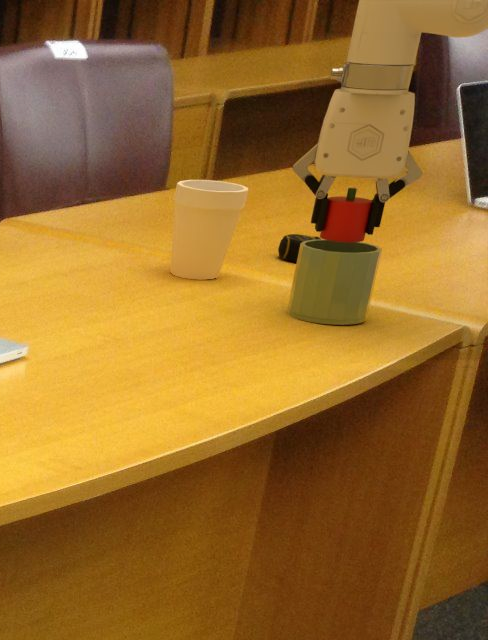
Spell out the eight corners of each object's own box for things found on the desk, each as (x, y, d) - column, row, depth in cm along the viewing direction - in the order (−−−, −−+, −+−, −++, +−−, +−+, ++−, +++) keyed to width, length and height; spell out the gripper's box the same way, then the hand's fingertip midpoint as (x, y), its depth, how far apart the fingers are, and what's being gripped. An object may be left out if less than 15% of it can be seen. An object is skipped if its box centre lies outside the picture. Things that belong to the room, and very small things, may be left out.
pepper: (372, 241, 194) (384, 189, 191) (346, 245, 192) (358, 192, 189) (336, 234, 198) (347, 183, 195) (310, 238, 196) (321, 187, 193)
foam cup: (145, 273, 222) (163, 181, 216) (196, 269, 225) (215, 178, 219) (189, 288, 214) (209, 193, 208) (241, 284, 217) (263, 190, 211)
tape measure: (330, 269, 227) (336, 243, 225) (282, 266, 228) (288, 241, 226) (317, 259, 233) (323, 234, 231) (270, 256, 234) (276, 231, 232)
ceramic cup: (381, 323, 196) (397, 251, 192) (315, 326, 194) (330, 254, 190) (336, 306, 204) (351, 238, 200) (272, 309, 203) (286, 240, 199)
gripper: (302, 79, 186) (272, 232, 194) (458, 84, 181) (421, 241, 189) (299, 74, 192) (269, 222, 200) (449, 79, 187) (413, 230, 195)
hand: (343, 229), depth 195 cm, fingers closed on pepper, 5 cm apart
